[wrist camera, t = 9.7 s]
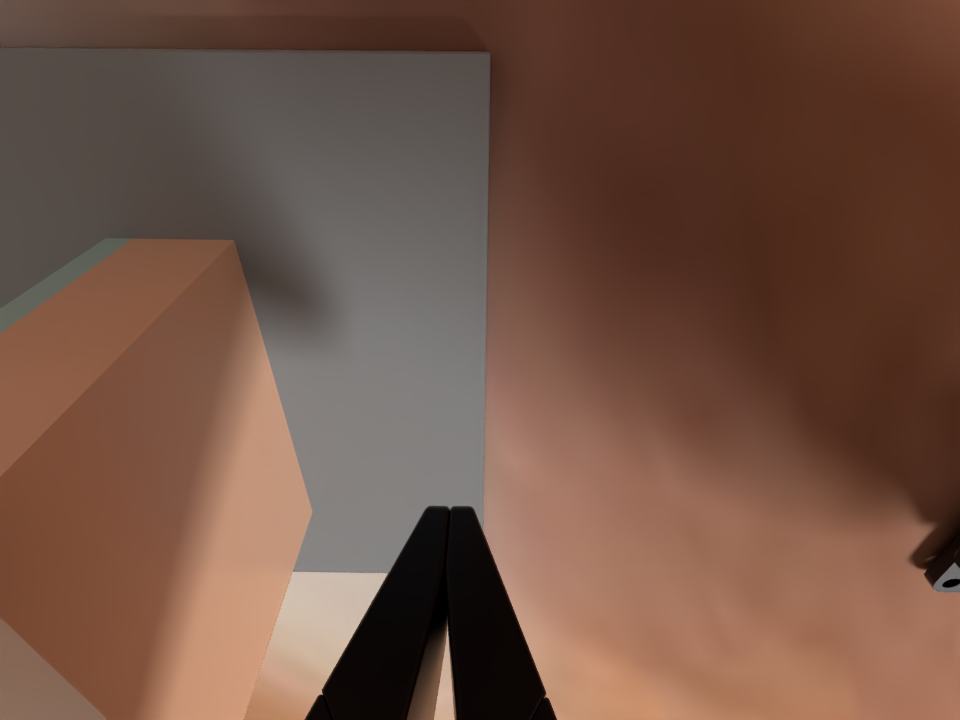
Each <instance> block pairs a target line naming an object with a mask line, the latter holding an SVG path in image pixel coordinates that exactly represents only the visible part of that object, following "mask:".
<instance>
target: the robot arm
mask: <svg viewBox="0 0 960 720" xmlns="http://www.w3.org/2000/svg"><path fill="white" fill-rule="evenodd" d="M924 576H925V578H926V579H927V581H928V582H929V584H930V585H931V586H932V588H933V589H934V590H936V591H938V592H960V534H959V535H958V537H957V538H956V539H955V540H954V541H953V542H952V543H951V544H950V545H949V546H948V547H947V549H946V550H945V551H944V552H943V553H942V554H941V555H940V556H939V557H938V558H937V559H936V561H935V562H934V563H933V564H932V565H931V566H930V567H929V568H928V569H927V570H926V572H925V574H924ZM447 627H448V635H449V651H450V664H451V678H452V691H453V705H454V718H455V720H557V718H556V716H555V713H554V711H553V708H552V705H551V703H550V700H549V699H548V698H547V697H546V691H545V688H544V686H543V683H542V681H541V678H540V676H539V673H538V670H537V668H536V665H535V663H534V660H533V658H532V655H531V653H530V650H529V647H528V645H527V642H526V640H525V637H524V635H523V632H522V630H521V627H520V625H519V622H518V619H517V617H516V614H515V612H514V609H513V607H512V604H511V602H510V599H509V596H508V594H507V591H506V589H505V586H504V584H503V581H502V579H501V576H500V573H499V571H498V568H497V566H496V563H495V561H494V558H493V556H492V553H491V551H490V548H489V545H488V543H487V540H486V538H485V535H484V533H483V530H482V528H481V525H480V522H479V520H478V517H477V515H476V512H475V510H474V508H473V507H471V506H453V507H451V509H450V508H449V507H448V506H428V507H427V508H426V509H425V510H424V512H423V514H422V515H421V517H420V519H419V521H418V522H417V524H416V526H415V528H414V529H413V531H412V533H411V535H410V536H409V538H408V540H407V542H406V543H405V545H404V547H403V549H402V550H401V552H400V554H399V556H398V557H397V559H396V561H395V563H394V564H393V566H392V568H391V570H390V571H389V573H388V575H387V577H386V578H385V580H384V582H383V584H382V585H381V587H380V589H379V591H378V592H377V594H376V596H375V598H374V599H373V601H372V603H371V605H370V606H369V608H368V610H367V612H366V613H365V615H364V617H363V619H362V620H361V622H360V624H359V626H358V627H357V629H356V631H355V633H354V634H353V636H352V638H351V640H350V641H349V643H348V645H347V647H346V648H345V650H344V652H343V654H342V655H341V657H340V659H339V661H338V662H337V664H336V666H335V668H334V669H333V671H332V673H331V675H330V676H329V678H328V680H327V682H326V683H325V685H324V687H323V689H322V693H323V695H319V696H318V697H317V699H316V700H315V702H314V704H313V706H312V707H311V709H310V711H309V713H308V714H307V716H306V718H305V720H434V715H435V708H436V702H437V695H438V689H439V683H440V676H441V670H442V663H443V657H444V650H445V644H446V636H447Z"/></svg>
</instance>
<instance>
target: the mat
mask: <svg viewBox="0 0 960 720" xmlns="http://www.w3.org/2000/svg"><path fill="white" fill-rule="evenodd" d="M489 113H490V52H482V51H364V50H246V49H129V48H11V47H0V309H1V308H2V307H4V306H5V305H7V304H8V303H10V302H11V301H13V300H14V299H16V298H17V297H19V296H20V295H22V294H23V293H25V292H26V291H28V290H29V289H31V288H32V287H34V286H35V285H37V284H38V283H40V282H41V281H43V280H44V279H46V278H47V277H49V276H50V275H52V274H53V273H54V272H56V271H57V270H59V269H60V268H62V267H63V266H65V265H66V264H68V263H69V262H71V261H72V260H74V259H75V258H77V257H78V256H80V255H81V254H83V253H84V252H86V251H87V250H89V249H90V248H92V247H93V246H95V245H96V244H98V243H99V242H101V241H102V240H104V239H105V238H126V239H197V240H234V241H235V245H236V248H237V252H238V255H239V259H240V262H241V265H242V269H243V272H244V276H245V279H246V283H247V286H248V290H249V293H250V297H251V300H252V304H253V307H254V311H255V314H256V317H257V321H258V324H259V328H260V331H261V335H262V338H263V342H264V345H265V349H266V352H267V356H268V359H269V363H270V366H271V369H272V373H273V376H274V380H275V383H276V387H277V390H278V394H279V397H280V401H281V404H282V408H283V411H284V415H285V418H286V421H287V425H288V428H289V432H290V435H291V439H292V442H293V446H294V449H295V453H296V456H297V460H298V463H299V467H300V470H301V474H302V477H303V480H304V484H305V487H306V491H307V494H308V498H309V501H310V505H311V508H312V515H311V518H310V521H309V524H308V527H307V530H306V533H305V536H304V539H303V542H302V545H301V548H300V551H299V554H298V557H297V560H296V563H295V566H294V569H293V572H349V573H389V571H390V570H391V568H392V566H393V564H394V563H395V561H396V559H397V557H398V556H399V554H400V552H401V550H402V549H403V547H404V545H405V543H406V542H407V540H408V538H409V536H410V535H411V533H412V531H413V529H414V528H415V526H416V524H417V522H418V521H419V519H420V517H421V515H422V514H423V512H424V510H425V509H426V508H427V507H428V506H448V507H449V508H450V509H451V507H453V506H471V507H473V508H474V510H475V512H476V515H477V517H478V520H479V522H480V525H481V528H482V530H483V497H484V433H485V369H486V305H487V241H488V177H489Z"/></svg>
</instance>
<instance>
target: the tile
mask: <svg viewBox="0 0 960 720" xmlns="http://www.w3.org/2000/svg"><path fill="white" fill-rule="evenodd" d="M311 515H312V508H311V505H310V501H309V498H308V494H307V491H306V487H305V484H304V480H303V477H302V474H301V470H300V467H299V463H298V460H297V456H296V453H295V449H294V446H293V442H292V439H291V435H290V432H289V428H288V425H287V421H286V418H285V415H284V411H283V408H282V404H281V401H280V397H279V394H278V390H277V387H276V383H275V380H274V376H273V373H272V369H271V366H270V363H269V359H268V356H267V352H266V349H265V345H264V342H263V338H262V335H261V331H260V328H259V324H258V321H257V317H256V314H255V311H254V307H253V304H252V300H251V297H250V293H249V290H248V286H247V283H246V279H245V276H244V272H243V269H242V265H241V262H240V259H239V255H238V252H237V248H236V245H235V241H234V240H197V239H126V238H105V239H104V240H102V241H101V242H99V243H98V244H96V245H95V246H93V247H92V248H90V249H89V250H87V251H86V252H84V253H83V254H81V255H80V256H78V257H77V258H75V259H74V260H72V261H71V262H69V263H68V264H66V265H65V266H63V267H62V268H60V269H59V270H57V271H56V272H54V273H53V274H52V275H50V276H49V277H47V278H46V279H44V280H43V281H41V282H40V283H38V284H37V285H35V286H34V287H32V288H31V289H29V290H28V291H26V292H25V293H23V294H22V295H20V296H19V297H17V298H16V299H14V300H13V301H11V302H10V303H8V304H7V305H5V306H4V307H2V308H1V309H0V720H244V717H245V714H246V711H247V708H248V705H249V702H250V699H251V696H252V693H253V690H254V687H255V684H256V681H257V678H258V675H259V672H260V669H261V666H262V663H263V660H264V657H265V654H266V651H267V647H268V644H269V641H270V638H271V635H272V632H273V629H274V626H275V623H276V620H277V617H278V614H279V611H280V608H281V605H282V602H283V599H284V596H285V593H286V590H287V587H288V584H289V581H290V578H291V575H292V572H293V569H294V566H295V563H296V560H297V557H298V554H299V551H300V548H301V545H302V542H303V539H304V536H305V533H306V530H307V527H308V524H309V521H310V518H311Z"/></svg>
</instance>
